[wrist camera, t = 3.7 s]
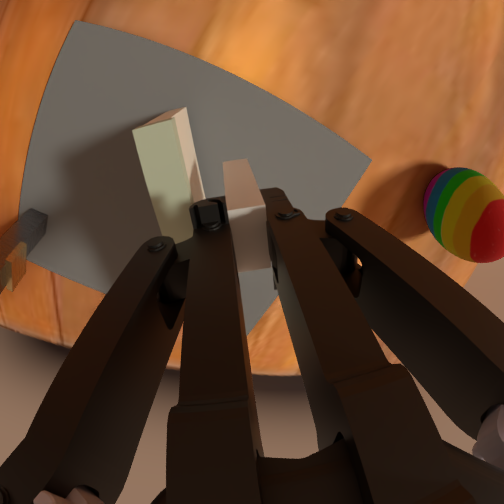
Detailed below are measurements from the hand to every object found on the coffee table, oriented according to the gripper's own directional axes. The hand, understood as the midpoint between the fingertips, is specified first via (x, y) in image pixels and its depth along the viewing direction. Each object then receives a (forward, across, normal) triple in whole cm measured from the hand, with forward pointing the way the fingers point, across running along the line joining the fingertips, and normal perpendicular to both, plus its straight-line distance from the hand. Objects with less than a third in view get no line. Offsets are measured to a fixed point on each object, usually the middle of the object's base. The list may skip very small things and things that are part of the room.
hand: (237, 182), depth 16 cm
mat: (+5, -6, -2) cm, 8 cm away
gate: (+5, -3, -3) cm, 6 cm away
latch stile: (+5, -18, -1) cm, 19 cm away
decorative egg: (+6, +20, -5) cm, 22 cm away
